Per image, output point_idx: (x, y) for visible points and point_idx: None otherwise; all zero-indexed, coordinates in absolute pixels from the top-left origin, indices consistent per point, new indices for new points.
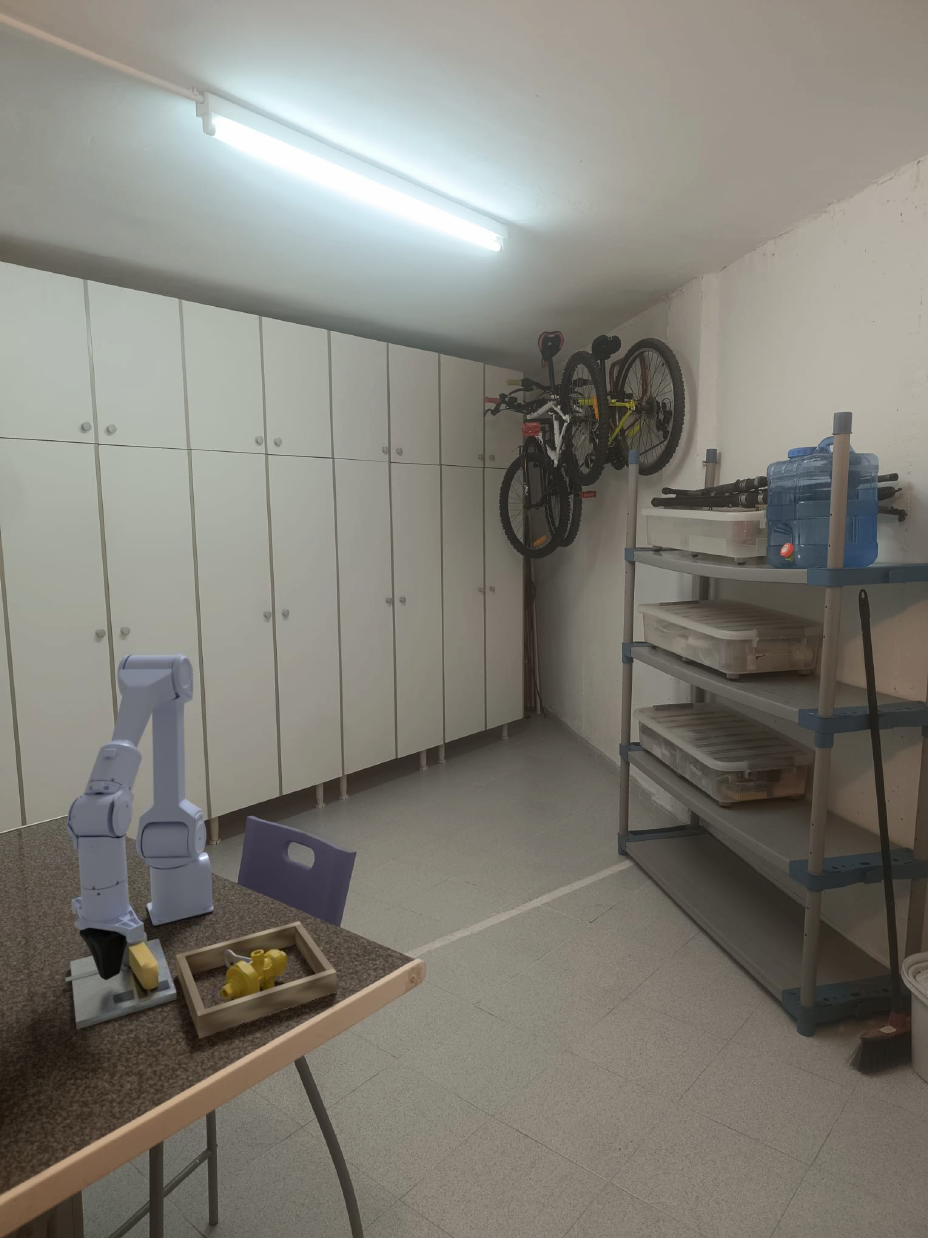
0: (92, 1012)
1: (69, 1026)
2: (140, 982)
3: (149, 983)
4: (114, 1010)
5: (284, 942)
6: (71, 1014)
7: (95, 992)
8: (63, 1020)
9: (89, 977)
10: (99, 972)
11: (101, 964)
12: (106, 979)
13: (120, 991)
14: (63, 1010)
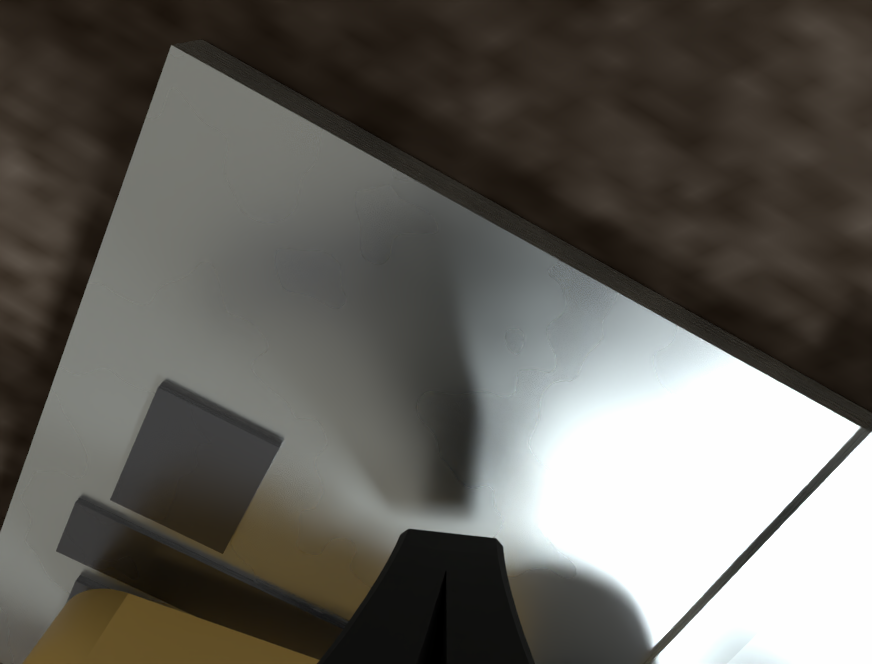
0: (201, 221)
1: (312, 36)
2: (207, 625)
3: (42, 637)
4: (73, 328)
5: None
6: (471, 154)
7: (469, 410)
8: (450, 60)
9: (740, 521)
10: (472, 569)
11: (354, 648)
12: (398, 538)
13: (296, 504)
14: (598, 153)
